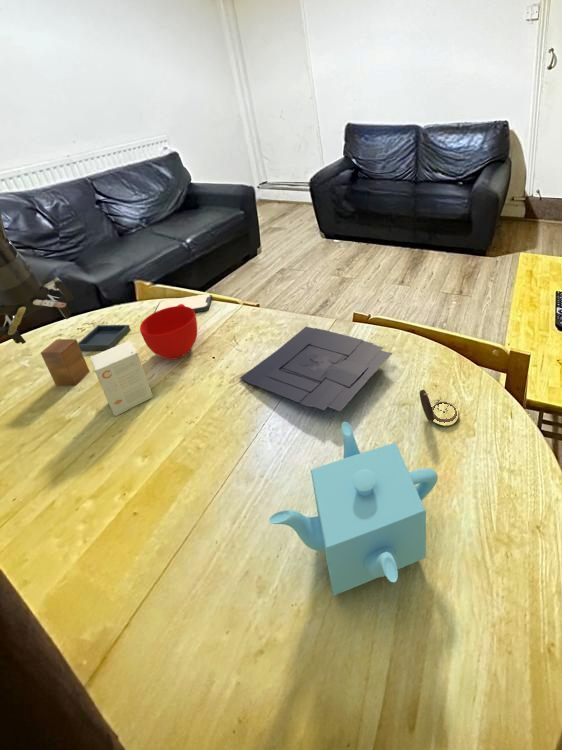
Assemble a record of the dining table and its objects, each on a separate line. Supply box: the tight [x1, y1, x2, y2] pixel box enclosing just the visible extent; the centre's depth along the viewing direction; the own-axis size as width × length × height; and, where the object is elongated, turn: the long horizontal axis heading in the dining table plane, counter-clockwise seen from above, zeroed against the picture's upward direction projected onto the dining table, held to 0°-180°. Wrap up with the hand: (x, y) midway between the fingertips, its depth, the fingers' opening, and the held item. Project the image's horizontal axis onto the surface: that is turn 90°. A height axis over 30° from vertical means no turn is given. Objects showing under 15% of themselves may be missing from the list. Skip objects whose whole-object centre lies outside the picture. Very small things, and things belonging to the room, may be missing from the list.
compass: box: [419, 389, 457, 423], centre depth 86 cm, size 8×8×7 cm
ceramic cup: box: [139, 304, 198, 360], centre depth 110 cm, size 13×17×10 cm
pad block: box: [40, 338, 91, 387], centre depth 100 cm, size 5×5×10 cm
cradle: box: [78, 324, 131, 352], centre depth 115 cm, size 9×9×2 cm
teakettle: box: [268, 421, 439, 597], centre depth 62 cm, size 19×19×15 cm
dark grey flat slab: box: [239, 326, 393, 412], centre depth 100 cm, size 24×30×4 cm
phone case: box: [153, 293, 213, 313], centre depth 129 cm, size 9×2×16 cm
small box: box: [89, 340, 154, 417], centre depth 92 cm, size 8×6×13 cm
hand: (45, 328), depth 90 cm, fingers open, 8 cm apart
